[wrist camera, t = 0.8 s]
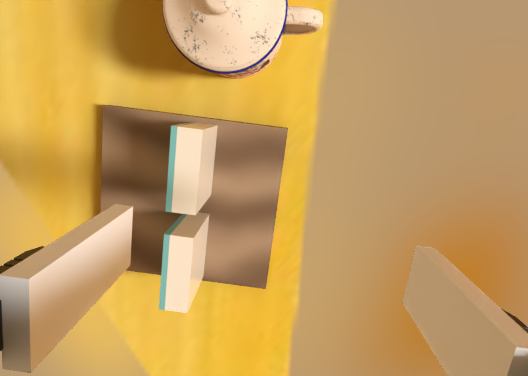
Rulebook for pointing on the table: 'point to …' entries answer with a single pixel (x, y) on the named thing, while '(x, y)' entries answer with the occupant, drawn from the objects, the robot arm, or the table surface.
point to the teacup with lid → (235, 32)
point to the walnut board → (218, 204)
